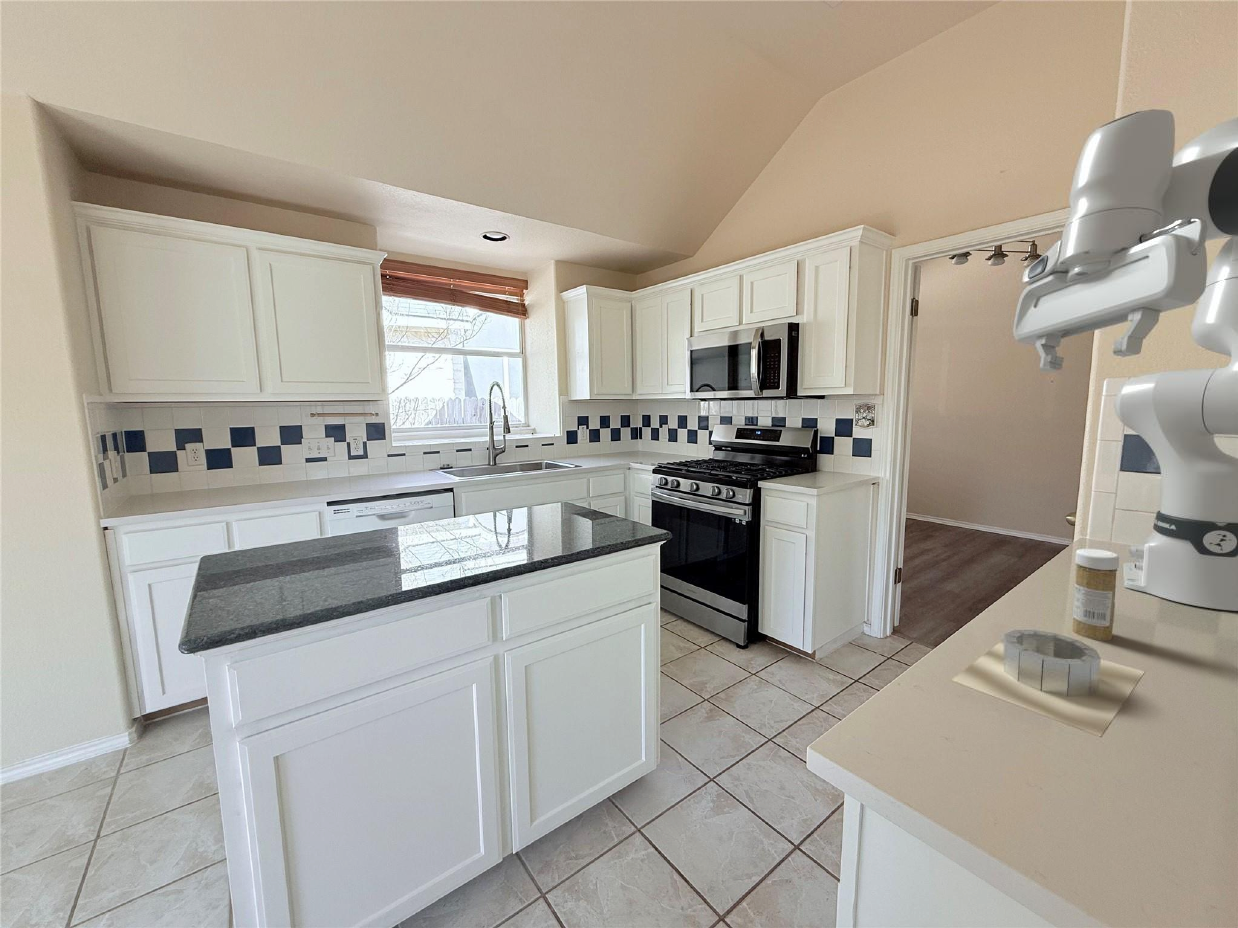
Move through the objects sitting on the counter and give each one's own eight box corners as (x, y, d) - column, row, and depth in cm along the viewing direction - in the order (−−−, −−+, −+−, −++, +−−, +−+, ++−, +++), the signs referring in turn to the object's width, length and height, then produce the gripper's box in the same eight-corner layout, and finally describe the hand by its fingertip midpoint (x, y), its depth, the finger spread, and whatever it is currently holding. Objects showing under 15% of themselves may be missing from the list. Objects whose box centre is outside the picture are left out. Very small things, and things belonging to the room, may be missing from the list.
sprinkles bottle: (1116, 642, 74) (1124, 552, 73) (1106, 651, 72) (1114, 559, 70) (1075, 631, 78) (1082, 545, 77) (1065, 639, 76) (1071, 551, 74)
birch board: (1010, 641, 76) (1011, 633, 76) (1143, 680, 65) (1144, 671, 64) (951, 688, 65) (951, 680, 64) (1099, 747, 53) (1100, 736, 53)
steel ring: (1000, 652, 71) (1002, 624, 70) (1087, 668, 66) (1089, 638, 65) (1006, 683, 63) (1008, 653, 63) (1105, 704, 58) (1108, 671, 58)
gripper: (1238, 215, 52) (1214, 349, 51) (1055, 285, 72) (1037, 382, 72) (1180, 201, 51) (1156, 336, 51) (1013, 276, 72) (994, 373, 72)
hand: (1085, 363), depth 62 cm, fingers open, 8 cm apart
